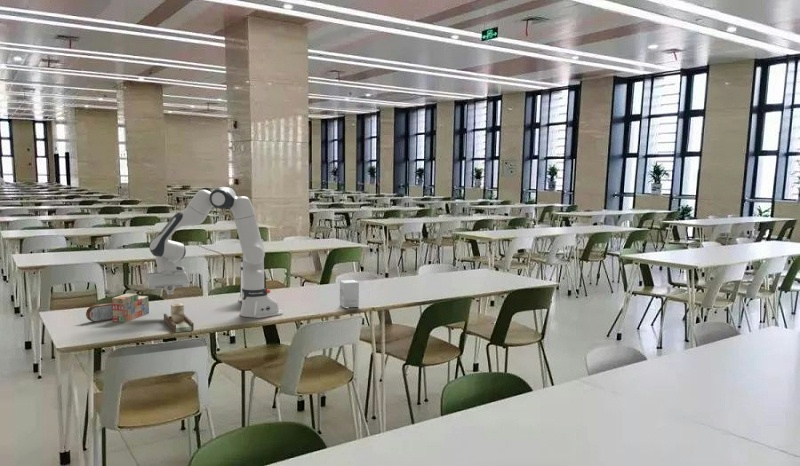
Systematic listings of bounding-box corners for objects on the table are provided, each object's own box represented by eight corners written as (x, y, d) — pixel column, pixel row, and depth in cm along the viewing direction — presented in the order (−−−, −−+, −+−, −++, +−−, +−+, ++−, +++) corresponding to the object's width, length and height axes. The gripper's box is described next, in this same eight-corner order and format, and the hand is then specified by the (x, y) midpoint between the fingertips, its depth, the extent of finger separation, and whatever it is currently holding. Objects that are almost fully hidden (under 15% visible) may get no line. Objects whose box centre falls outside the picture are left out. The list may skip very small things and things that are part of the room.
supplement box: (354, 304, 352) (354, 279, 351) (358, 307, 344) (359, 282, 343) (339, 305, 349) (339, 280, 348) (343, 308, 341) (344, 282, 339)
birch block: (181, 319, 299) (181, 303, 299) (183, 321, 295) (183, 305, 294) (171, 320, 297) (170, 304, 296) (173, 322, 292) (172, 306, 292)
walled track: (182, 319, 308) (182, 312, 307) (193, 330, 286) (193, 323, 286) (163, 320, 303) (163, 313, 303) (173, 332, 281) (173, 325, 281)
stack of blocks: (138, 312, 320) (138, 289, 319) (149, 313, 319) (148, 290, 318) (112, 321, 299) (111, 297, 298) (123, 322, 298) (123, 298, 297)
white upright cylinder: (235, 304, 346) (235, 252, 343) (241, 298, 362) (241, 249, 359) (265, 304, 346) (265, 253, 344) (270, 299, 362) (270, 249, 359)
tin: (116, 317, 308) (116, 301, 307) (119, 318, 306) (118, 302, 305) (85, 322, 296) (85, 305, 295) (88, 323, 294) (88, 306, 293)
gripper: (146, 269, 309) (149, 291, 302) (187, 267, 320) (191, 288, 312) (145, 276, 313) (148, 298, 306) (185, 274, 324) (189, 295, 316)
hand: (170, 293), depth 309 cm, fingers closed
